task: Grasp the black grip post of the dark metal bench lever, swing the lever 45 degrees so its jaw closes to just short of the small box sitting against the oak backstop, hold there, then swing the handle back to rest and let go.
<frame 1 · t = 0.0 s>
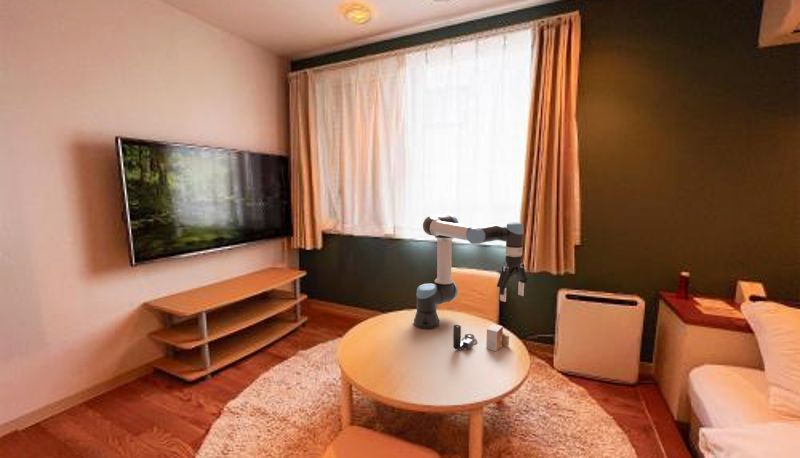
hand: (512, 298, 159), 28 cm above the table, fingers open, 13 cm apart
pivot disc: (469, 341, 174), on the table
lever: (465, 333, 168), point 7 cm above the table, hinge at 0.0°
small box: (494, 347, 168), on the table
backstop: (501, 343, 171), on the table
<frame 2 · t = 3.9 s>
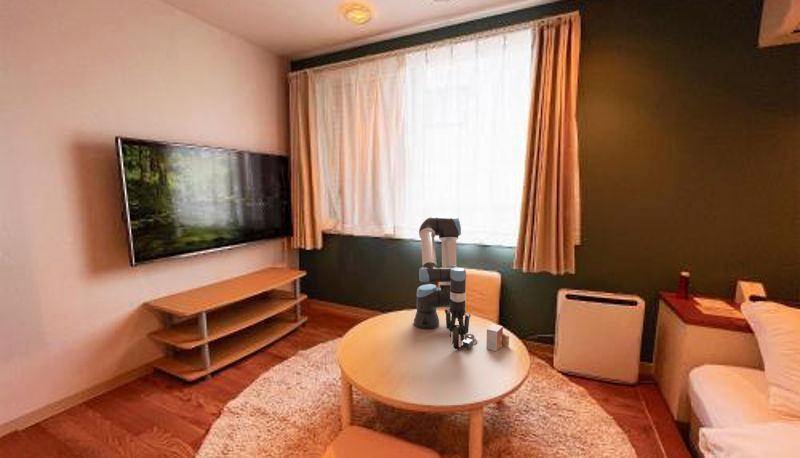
hand: (456, 344, 164), 4 cm above the table, fingers closed on lever, 4 cm apart
lever: (465, 333, 168), point 7 cm above the table, hinge at 0.1°, touching gripper
everything else where it was.
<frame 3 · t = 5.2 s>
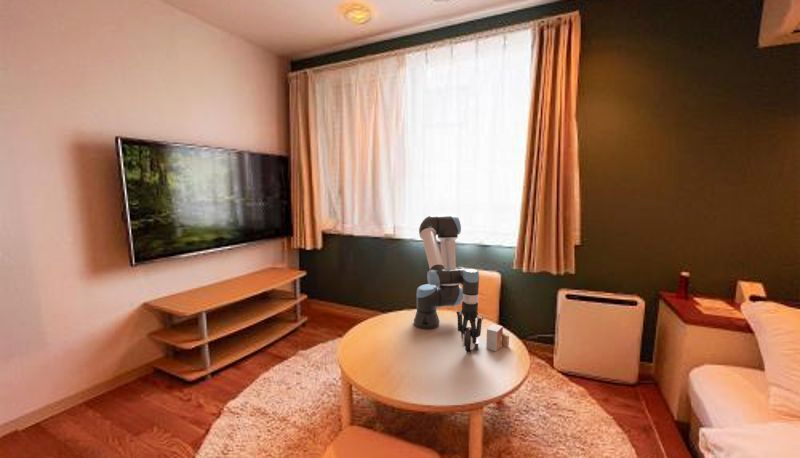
hand: (468, 347, 161), 4 cm above the table, fingers closed on lever, 4 cm apart
lever: (471, 334, 167), point 7 cm above the table, hinge at 27.1°, touching gripper
everything else where it was.
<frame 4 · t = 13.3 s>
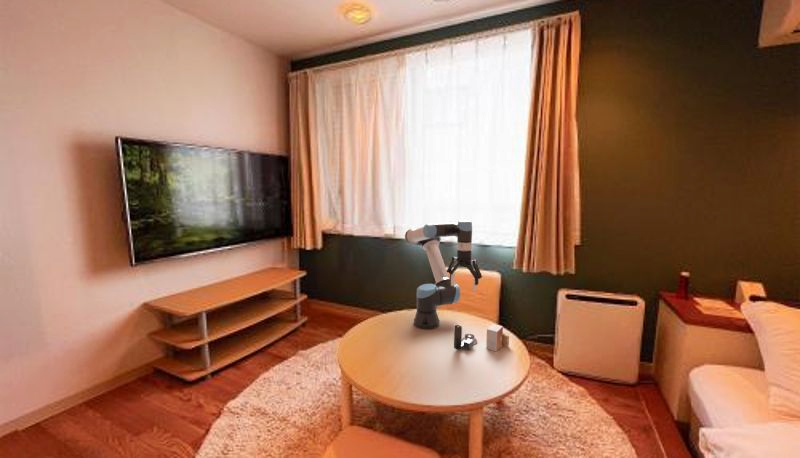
hand: (463, 287, 178), 27 cm above the table, fingers open, 13 cm apart
lever: (466, 333, 168), point 7 cm above the table, hinge at 2.2°
everything else where it was.
at the end: lever at +2° (first picture: +0°); small box moved 0.3 cm from its start; the gripper is holding nothing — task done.
